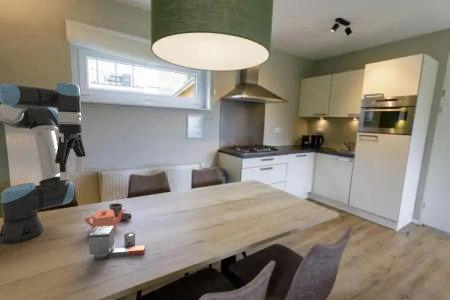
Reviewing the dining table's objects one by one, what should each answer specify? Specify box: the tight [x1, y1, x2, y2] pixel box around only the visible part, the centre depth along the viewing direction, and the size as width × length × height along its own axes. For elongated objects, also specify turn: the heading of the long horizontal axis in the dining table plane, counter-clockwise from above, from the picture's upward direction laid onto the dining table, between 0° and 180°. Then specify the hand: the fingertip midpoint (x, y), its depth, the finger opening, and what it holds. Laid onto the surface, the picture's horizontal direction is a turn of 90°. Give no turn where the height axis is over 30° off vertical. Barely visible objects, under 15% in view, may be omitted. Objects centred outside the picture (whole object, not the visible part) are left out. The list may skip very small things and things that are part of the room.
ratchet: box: [93, 245, 146, 261], centre depth 91 cm, size 19×6×7 cm, turn 102°
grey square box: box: [88, 226, 115, 256], centre depth 90 cm, size 7×7×8 cm
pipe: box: [108, 202, 132, 221], centre depth 123 cm, size 6×13×8 cm, turn 77°
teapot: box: [84, 208, 127, 233], centre depth 110 cm, size 12×18×10 cm, turn 118°
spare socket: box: [123, 231, 136, 248], centre depth 98 cm, size 4×4×5 cm
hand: (72, 175), depth 91 cm, fingers open, 13 cm apart
